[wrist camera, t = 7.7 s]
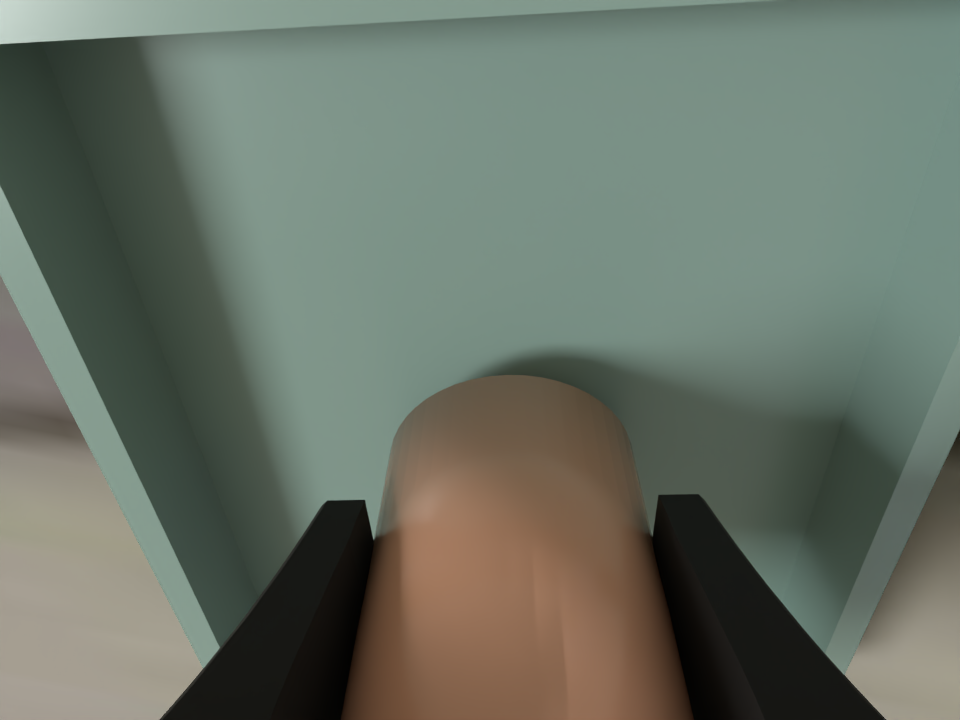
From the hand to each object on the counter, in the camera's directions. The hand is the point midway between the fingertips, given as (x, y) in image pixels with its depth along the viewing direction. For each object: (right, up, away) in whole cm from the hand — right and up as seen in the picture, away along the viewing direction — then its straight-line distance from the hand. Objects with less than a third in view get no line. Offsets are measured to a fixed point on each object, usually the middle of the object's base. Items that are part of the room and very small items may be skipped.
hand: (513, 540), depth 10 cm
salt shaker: (0, +1, +2) cm, 2 cm away
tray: (0, +2, +3) cm, 3 cm away
